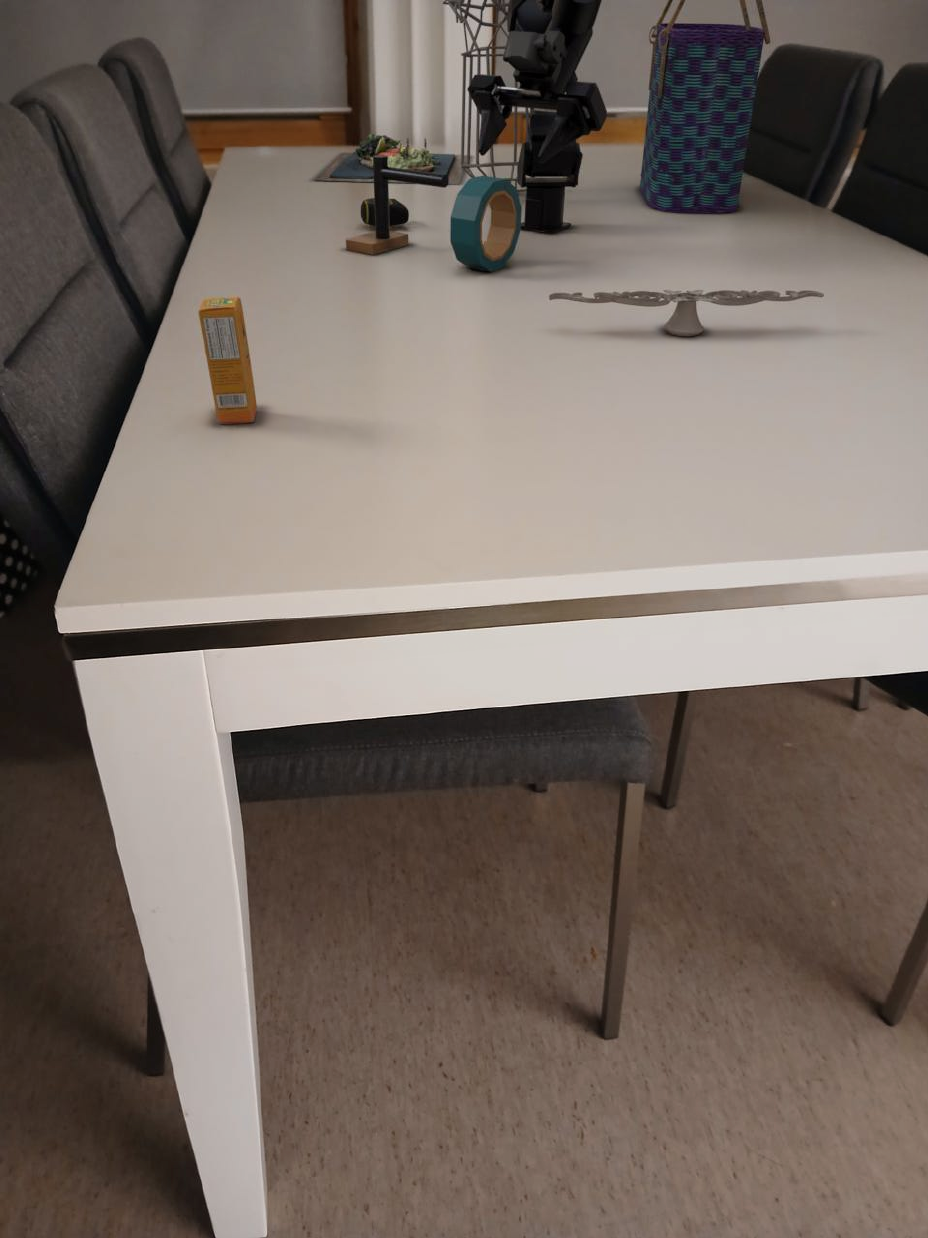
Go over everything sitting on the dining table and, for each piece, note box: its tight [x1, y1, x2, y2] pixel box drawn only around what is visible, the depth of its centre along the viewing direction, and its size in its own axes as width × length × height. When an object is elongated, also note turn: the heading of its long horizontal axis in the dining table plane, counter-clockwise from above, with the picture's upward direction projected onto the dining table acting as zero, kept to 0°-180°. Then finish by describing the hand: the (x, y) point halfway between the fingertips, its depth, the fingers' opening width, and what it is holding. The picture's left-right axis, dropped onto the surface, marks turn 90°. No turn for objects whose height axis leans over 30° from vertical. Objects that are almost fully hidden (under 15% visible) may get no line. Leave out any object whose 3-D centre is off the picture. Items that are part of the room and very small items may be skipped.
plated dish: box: [314, 132, 467, 185], centre depth 194 cm, size 35×28×7 cm
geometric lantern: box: [442, 0, 536, 193], centre depth 162 cm, size 16×16×35 cm
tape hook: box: [373, 155, 449, 239], centre depth 132 cm, size 2×12×12 cm, turn 55°
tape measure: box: [360, 197, 410, 228], centre depth 149 cm, size 7×7×4 cm
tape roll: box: [449, 175, 523, 273], centre depth 126 cm, size 11×4×11 cm, turn 145°
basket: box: [639, 0, 771, 215], centre depth 161 cm, size 26×18×40 cm
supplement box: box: [197, 296, 258, 425], centre depth 82 cm, size 3×3×10 cm
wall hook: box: [548, 289, 825, 337], centre depth 106 cm, size 5×30×4 cm, turn 94°
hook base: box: [345, 230, 409, 256], centre depth 138 cm, size 8×5×2 cm, turn 145°
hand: (509, 156), depth 126 cm, fingers open, 9 cm apart
